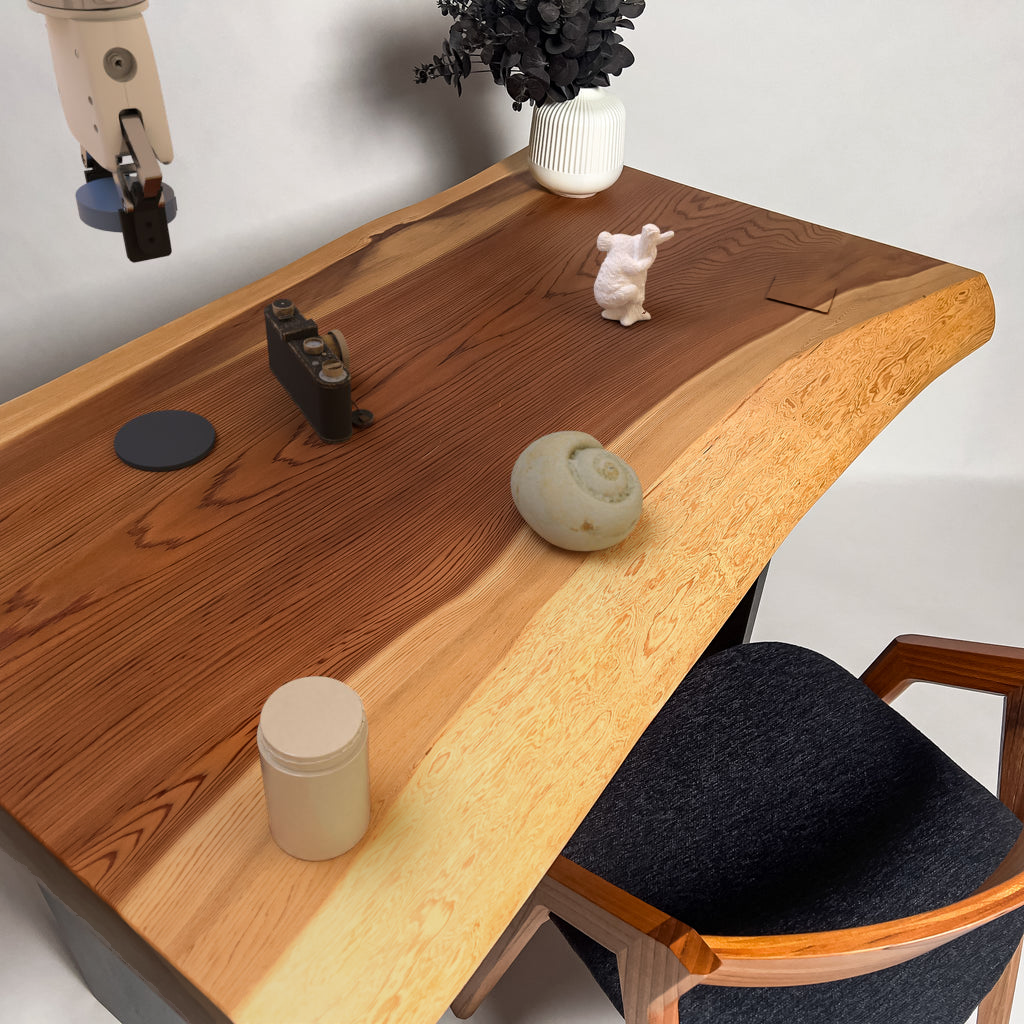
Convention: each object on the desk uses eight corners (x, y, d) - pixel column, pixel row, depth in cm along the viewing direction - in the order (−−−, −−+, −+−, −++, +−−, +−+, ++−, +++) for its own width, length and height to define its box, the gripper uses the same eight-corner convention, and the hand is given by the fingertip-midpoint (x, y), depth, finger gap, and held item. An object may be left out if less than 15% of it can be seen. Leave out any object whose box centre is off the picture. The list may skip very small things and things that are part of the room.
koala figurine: (662, 313, 117) (680, 219, 110) (649, 338, 112) (667, 242, 105) (595, 297, 119) (609, 203, 111) (580, 321, 114) (593, 225, 106)
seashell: (670, 461, 82) (597, 496, 75) (654, 539, 86) (582, 579, 79) (558, 407, 89) (482, 435, 82) (548, 482, 93) (474, 514, 86)
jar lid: (173, 194, 77) (170, 174, 76) (182, 230, 72) (180, 209, 71) (77, 198, 74) (73, 177, 73) (80, 235, 69) (76, 213, 68)
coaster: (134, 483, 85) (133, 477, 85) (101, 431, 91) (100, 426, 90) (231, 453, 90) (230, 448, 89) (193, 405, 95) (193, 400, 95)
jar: (297, 880, 58) (285, 781, 52) (252, 802, 62) (235, 700, 56) (388, 828, 62) (388, 729, 55) (341, 757, 65) (335, 656, 59)
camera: (385, 431, 94) (384, 361, 89) (321, 448, 91) (317, 376, 86) (319, 350, 105) (316, 283, 99) (260, 363, 102) (253, 295, 96)
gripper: (191, 10, 59) (224, 274, 71) (100, -52, 70) (141, 188, 81) (65, 19, 56) (121, 296, 67) (-12, -47, 66) (48, 203, 78)
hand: (132, 235), depth 74 cm, fingers closed on jar lid, 7 cm apart
